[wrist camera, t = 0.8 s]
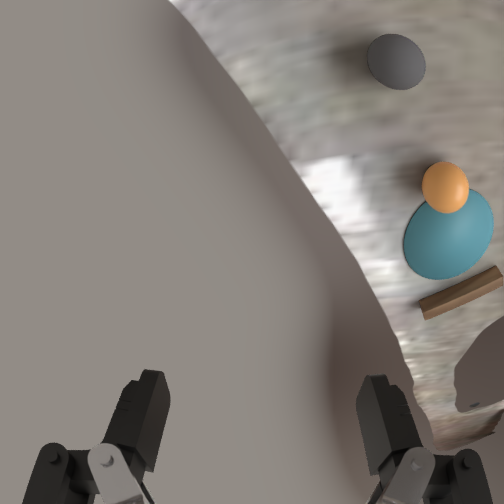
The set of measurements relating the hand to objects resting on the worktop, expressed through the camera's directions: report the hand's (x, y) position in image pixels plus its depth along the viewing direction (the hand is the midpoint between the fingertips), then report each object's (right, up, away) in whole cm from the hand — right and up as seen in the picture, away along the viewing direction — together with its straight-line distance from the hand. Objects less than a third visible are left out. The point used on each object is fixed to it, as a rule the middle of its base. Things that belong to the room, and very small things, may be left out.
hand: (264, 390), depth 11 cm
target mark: (+25, +7, +22) cm, 34 cm away
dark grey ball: (+12, +22, +9) cm, 27 cm away
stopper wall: (+31, 0, +26) cm, 40 cm away
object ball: (+20, +12, +15) cm, 28 cm away
